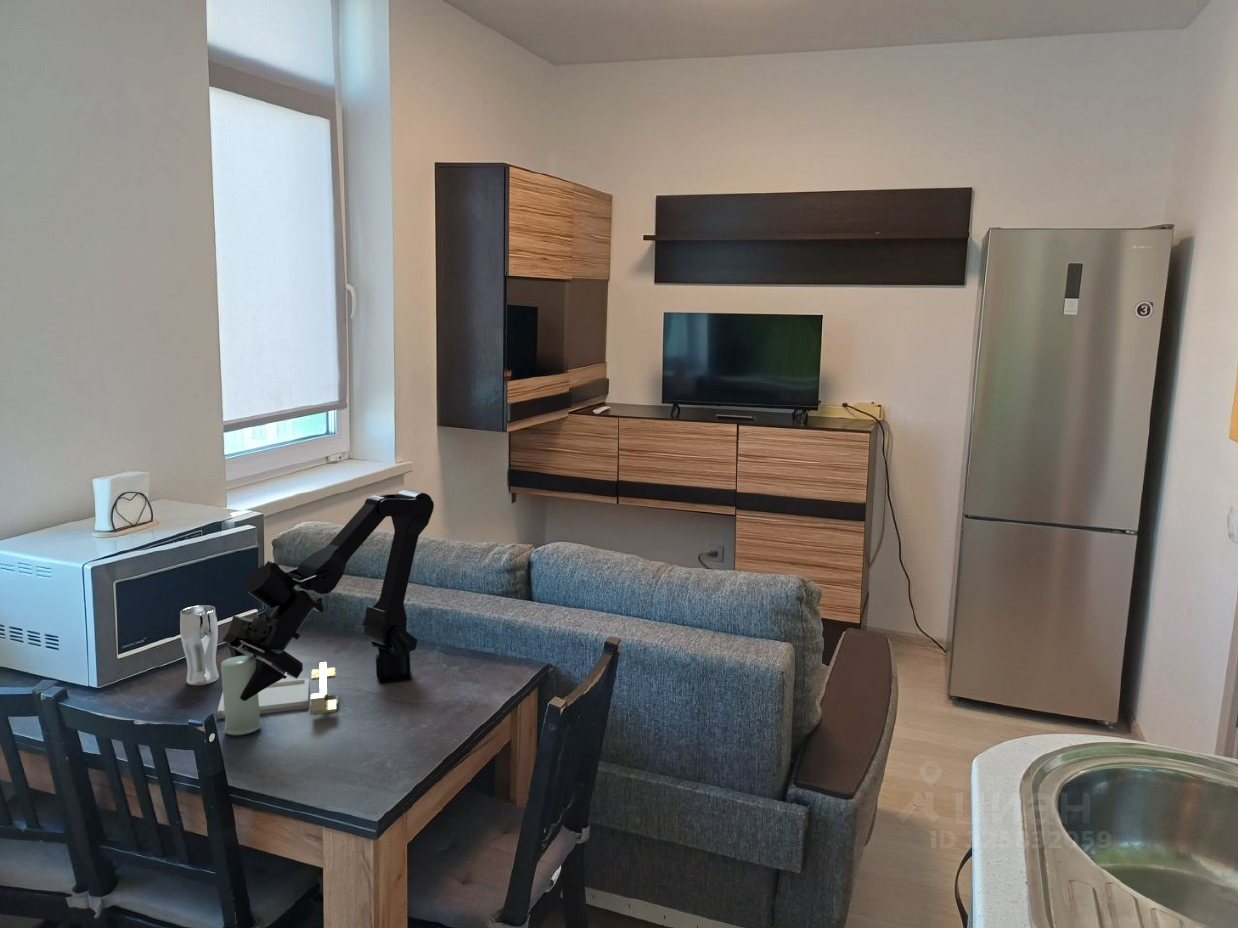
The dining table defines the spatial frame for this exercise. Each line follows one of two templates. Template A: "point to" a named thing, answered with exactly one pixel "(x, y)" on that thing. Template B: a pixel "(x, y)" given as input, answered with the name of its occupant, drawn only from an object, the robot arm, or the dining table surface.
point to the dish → (279, 697)
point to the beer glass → (200, 643)
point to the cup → (238, 712)
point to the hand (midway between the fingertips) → (233, 695)
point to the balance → (323, 691)
